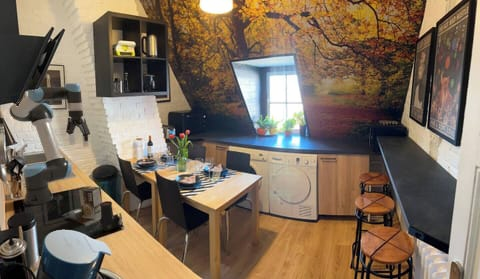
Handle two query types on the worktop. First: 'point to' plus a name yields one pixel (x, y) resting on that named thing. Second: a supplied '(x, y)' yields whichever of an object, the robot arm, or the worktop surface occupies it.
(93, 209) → the coffee box
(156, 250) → the worktop surface
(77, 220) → the panel
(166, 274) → the worktop surface
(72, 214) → the block
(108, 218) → the scope
